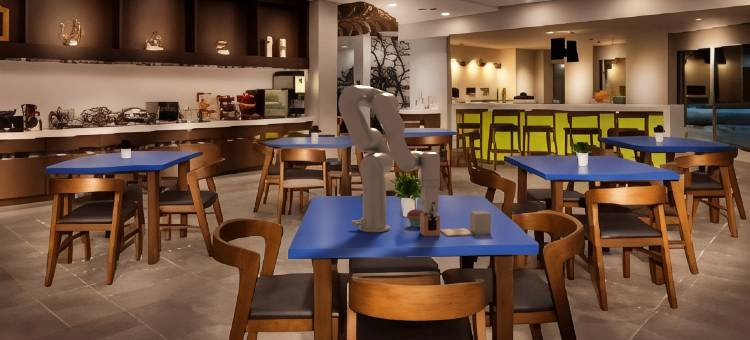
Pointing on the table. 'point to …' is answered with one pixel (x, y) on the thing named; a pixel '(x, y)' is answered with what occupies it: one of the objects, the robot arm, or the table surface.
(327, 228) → the table surface
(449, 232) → the birch board
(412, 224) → the cupcake
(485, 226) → the beige block
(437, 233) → the peach colored cube
